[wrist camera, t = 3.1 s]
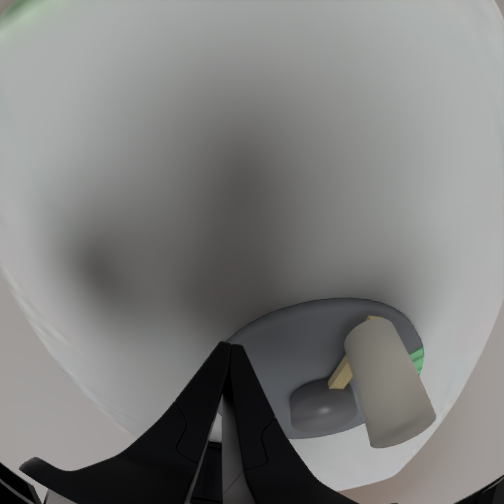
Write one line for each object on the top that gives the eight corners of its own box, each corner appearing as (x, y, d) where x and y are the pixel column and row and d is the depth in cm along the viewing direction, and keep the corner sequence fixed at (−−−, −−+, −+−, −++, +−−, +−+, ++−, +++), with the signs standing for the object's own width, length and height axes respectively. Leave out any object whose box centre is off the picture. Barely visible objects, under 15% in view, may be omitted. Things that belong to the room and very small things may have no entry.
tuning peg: (336, 413, 16) (348, 486, 10) (281, 411, 15) (284, 491, 10) (408, 313, 12) (459, 406, 6) (340, 303, 11) (379, 419, 6)
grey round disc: (201, 418, 18) (199, 430, 17) (228, 274, 12) (225, 288, 11) (358, 428, 19) (360, 438, 18) (453, 312, 13) (462, 323, 12)
